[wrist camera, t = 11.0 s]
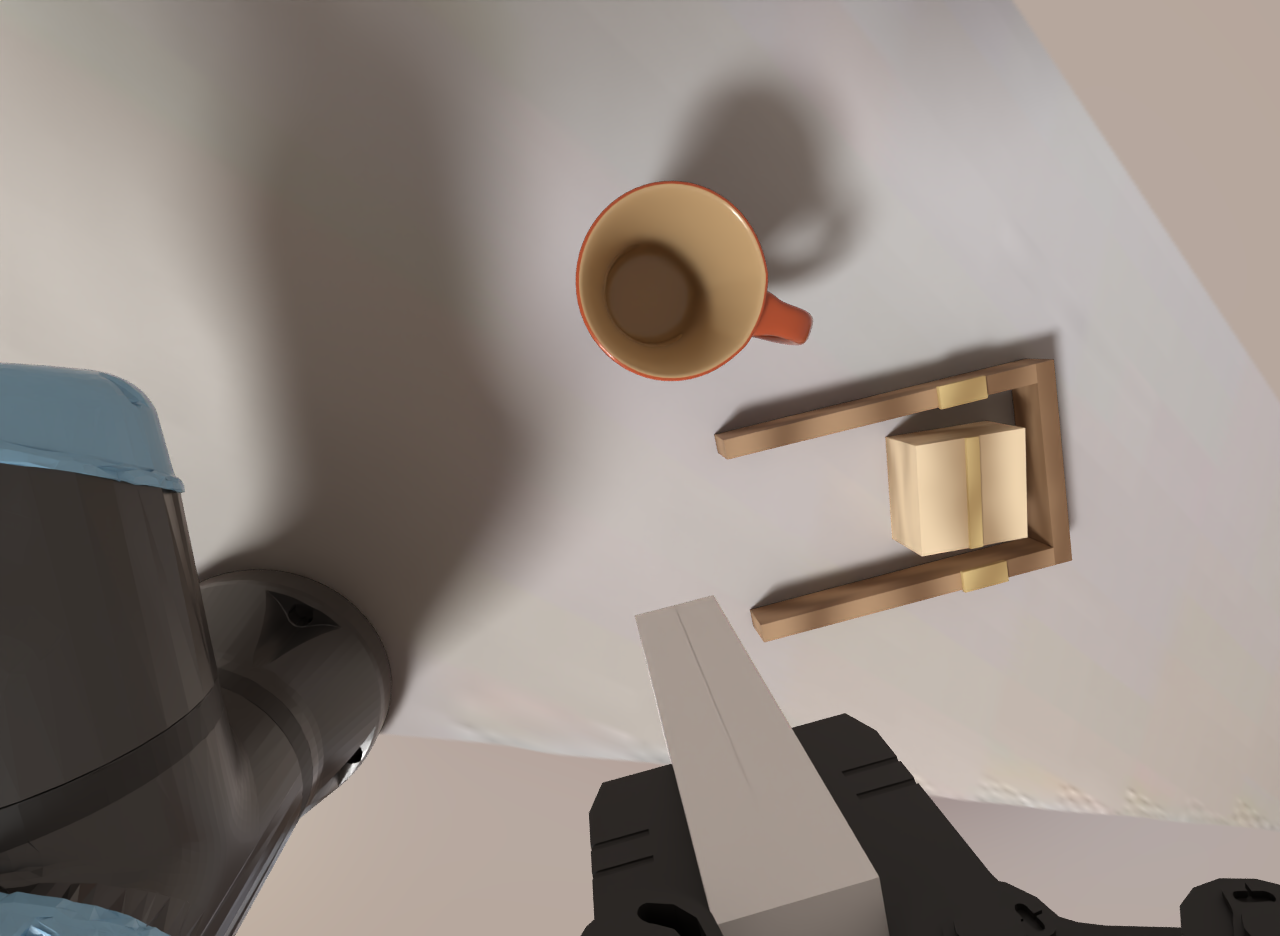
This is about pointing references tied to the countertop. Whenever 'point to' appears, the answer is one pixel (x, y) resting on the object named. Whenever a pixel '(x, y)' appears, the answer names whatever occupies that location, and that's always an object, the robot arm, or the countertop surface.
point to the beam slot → (955, 573)
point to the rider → (957, 487)
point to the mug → (678, 283)
